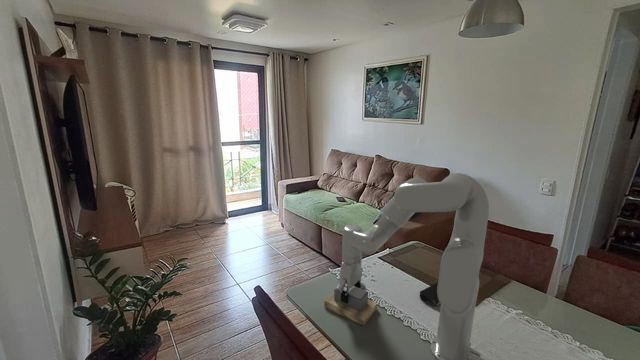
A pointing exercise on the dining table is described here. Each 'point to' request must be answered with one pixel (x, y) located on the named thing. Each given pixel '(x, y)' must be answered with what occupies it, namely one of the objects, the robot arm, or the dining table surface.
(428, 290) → the black sponge
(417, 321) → the dining table surface
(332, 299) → the oak stand
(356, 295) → the grey rectangular block
